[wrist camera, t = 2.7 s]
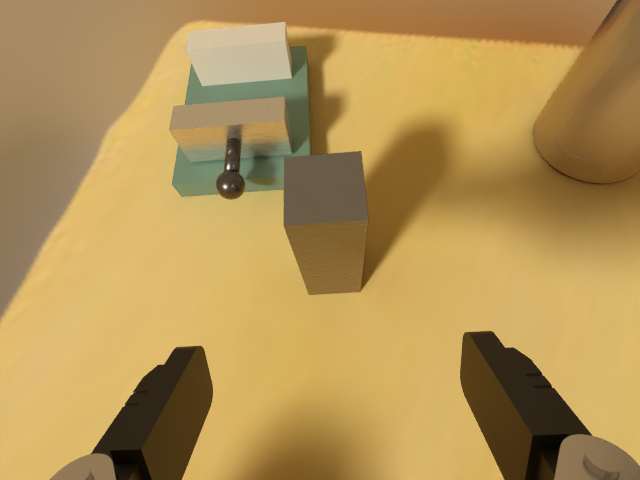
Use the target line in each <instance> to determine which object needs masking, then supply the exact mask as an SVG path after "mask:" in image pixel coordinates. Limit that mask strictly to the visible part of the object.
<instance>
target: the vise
mask: <svg viewBox="0 0 640 480" xmlns="http://www.w3.org/2000/svg"><path fill="white" fill-rule="evenodd" d="M185 50H186V52H187V54H188V57H189V59H190V61H191V69H190V75H189V81H188V87H187V94H186V100H185V105H192V104H204V103H215V102H227V101H238V100H250V99H262V98H273V97H285V101H286V106H287V111H288V116H289V120H290V125H291V130H292V154H287V155H275V156H262V157H249V158H240V173H239V174H240V175H241V176H242V177H243V179H244V181H245V190H244V192H252V191H266V190H279V189H284V157H294V156H307V155H311V134H310V107H309V80H308V59H307V51H306V46H299V47H289V41H288V35H287V29H286V23H285V22H281V23H271V24H261V25H250V26H240V27H229V28H219V29H209V30H198V31H189V32H188V38H187V44H186V49H185ZM224 163H225V159H223V160H211V161H198V162H190V161H189V160H188V158H187V157H186V155H185V154H184V152H183V151H182V149H181V148H180V146H179V145H178V150H177V156H176V162H175V168H174V174H173V181H172V185H173V186H174V188H175V189H176V190H177V191H178V193H179V194H180V195H181V196H182V197H184V196H197V195H211V194H219V193H218V191H217V189H216V180H217V178H218V176H219V175H220V174H221V173H223V172H224Z"/></svg>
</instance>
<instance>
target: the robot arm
mask: <svg viewBox="0 0 640 480" xmlns="http://www.w3.org/2000/svg"><path fill="white" fill-rule="evenodd" d="M533 137H534V142H535V145H536V147H537V149H538V151H539V152H540V154H541V155H542V157H543V158H544V159H545V160H546V161H547V162H548V163H549V164H550V165H551V166H553V167H554V168H556V169H557V170H559V171H560V172H562V173H564V174H566V175H568V176H570V177H572V178H575V179H578V180H582V181H585V182H592V183H613V182H618V181H622V180H624V179H627V178H629V177H631V176H632V175H634V174H635V173H636V172H638V171H639V170H640V0H617V1H616V3H615V5H614V6H613V7H612V9H611V10H610V12H609V13H608V15H607V16H606V18H605V19H604V21H603V22H602V24H601V25H600V26H599V28H598V29H597V31H596V33H595V34H594V35H593V37H592V39H591V40H590V41H589V43H588V44H587V46H586V47H585V49H584V50H583V52H582V53H581V54H580V56H579V57H578V59H577V60H576V62H575V63H574V65H573V66H572V68H571V69H570V71H569V72H568V74H567V75H566V77H565V78H564V80H563V81H562V82H561V84H560V85H559V87H558V88H557V90H556V91H555V93H554V94H553V96H552V97H551V99H550V100H549V101H548V103H547V104H546V106H545V107H544V109H543V110H542V112H541V113H540V115H539V116H538V118H537V120H536V122H535V124H534V129H533ZM460 379H461V385H462V389H463V393H464V395H465V397H466V400H467V402H468V404H469V406H470V408H471V410H472V412H473V414H474V416H475V419H476V421H477V423H478V425H479V427H480V429H481V431H482V433H483V435H484V437H485V440H486V442H487V444H488V446H489V448H490V450H491V452H492V454H493V456H494V458H495V461H496V463H497V465H498V467H499V469H500V471H501V473H502V475H503V477H504V479H505V480H640V466H639V465H638V464H637V462H636V461H635V460H634V459H633V458H632V457H631V456H630V455H628V454H627V453H626V452H625V451H623V450H622V449H620V448H619V447H617V446H616V445H614V444H612V443H610V442H608V441H606V440H603V439H601V438H598V437H594V436H592V435H591V433H590V432H589V431H588V430H587V428H586V427H585V426H584V425H583V423H582V422H581V421H580V420H579V419H578V417H577V416H576V415H575V414H574V412H573V411H572V410H571V409H570V407H569V406H568V405H567V404H566V402H565V401H564V400H563V399H562V397H561V396H560V395H559V394H558V393H557V391H556V390H555V389H554V388H552V385H551V384H550V383H549V381H548V380H547V379H546V378H545V376H542V373H541V371H540V370H539V369H538V368H537V366H536V365H535V364H534V363H533V362H532V360H531V359H530V358H528V357H527V356H525V355H524V354H522V353H521V352H519V351H518V350H516V349H515V348H505V347H504V346H503V344H502V343H501V342H500V340H499V339H498V338H497V336H496V335H495V334H494V333H493V332H492V331H481V332H465V333H464V335H463V342H462V356H461V369H460ZM212 397H213V386H212V381H211V377H210V372H209V368H208V364H207V360H206V355H205V351H204V349H203V347H202V346H189V347H176V348H175V349H174V350H173V352H172V353H171V355H170V356H169V358H168V359H167V361H166V363H165V364H164V365H158V366H156V367H155V368H154V369H153V370H152V371H150V372H149V373H148V374H147V375H146V376H144V377H143V379H142V380H141V381H140V383H139V384H138V386H137V387H136V389H135V390H134V392H133V395H131V396H130V397H129V399H128V400H127V402H126V403H125V407H123V408H122V409H121V411H120V412H119V414H118V415H117V416H116V418H115V419H114V421H113V422H112V424H111V425H110V427H109V428H108V430H107V431H106V432H105V434H104V435H103V437H102V438H101V440H100V441H99V443H98V444H97V446H96V447H95V448H94V450H93V451H92V453H91V454H90V455H86V456H83V457H81V458H78V459H76V460H74V461H73V462H71V463H69V464H68V465H66V466H65V467H63V468H62V469H61V470H59V471H58V472H57V473H56V474H55V475H54V476H53V477H52V478H51V479H50V480H182V478H183V475H184V473H185V470H186V467H187V465H188V462H189V460H190V457H191V455H192V452H193V450H194V447H195V445H196V442H197V440H198V437H199V434H200V432H201V429H202V427H203V424H204V422H205V419H206V417H207V414H208V412H209V409H210V406H211V403H212Z"/></svg>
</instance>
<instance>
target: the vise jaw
mask: <svg viewBox="0 0 640 480" xmlns="http://www.w3.org/2000/svg"><path fill="white" fill-rule="evenodd" d="M169 131H170V132H171V134H172V136H173V137H174V139H175V140H176V142H177V143H178V145H179V146H180V148H181V149H182V151H183V152H184V154H185V155H186V157H187V158H188V160H189V161H190V162H198V161H211V160H223V159H225V163H224V172H223V173H221V174H220V175H219V176H218V178H217V180H216V189H217V191H218V193H219V194H220V195H221V196H222V197H224V198H226V199H236V198H238V197H240V196H241V195H242V194H243V192H244V190H245V181H244V179H243V177H242V176H241V175H240V174H239V173H240V158H249V157H262V156H275V155H287V154H292V130H291V125H290V120H289V116H288V111H287V106H286V101H285V97H273V98H262V99H250V100H238V101H227V102H215V103H204V104H192V105H180V106H173V111H172V117H171V122H170V128H169Z"/></svg>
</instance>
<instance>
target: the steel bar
mask: <svg viewBox="0 0 640 480" xmlns="http://www.w3.org/2000/svg"><path fill="white" fill-rule="evenodd" d="M368 222H369V218H368V209H367V200H366V191H365V182H364V173H363V164H362V154H361V151H358V152H345V153H332V154H319V155H307V156H294V157H284V228H285V231H286V233H287V236H288V239H289V242H290V244H291V247H292V250H293V252H294V255H295V258H296V261H297V263H298V266H299V269H300V272H301V274H302V277H303V280H304V283H305V285H306V288H307V291H308V293H309V295H316V294H333V293H350V292H360V290H361V282H362V273H363V265H364V256H365V248H366V239H367V231H368Z"/></svg>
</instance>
